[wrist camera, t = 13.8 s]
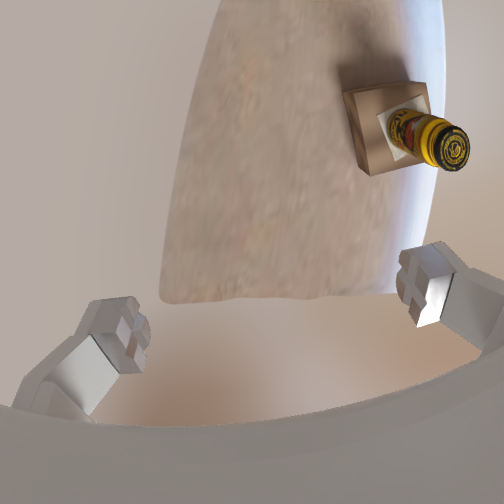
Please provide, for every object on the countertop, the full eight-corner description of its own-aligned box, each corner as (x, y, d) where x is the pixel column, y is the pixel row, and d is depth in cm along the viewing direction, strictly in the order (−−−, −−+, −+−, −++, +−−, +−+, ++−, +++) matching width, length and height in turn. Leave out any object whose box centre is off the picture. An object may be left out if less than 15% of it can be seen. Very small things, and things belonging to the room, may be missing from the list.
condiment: (376, 115, 34) (425, 132, 24) (421, 94, 32) (477, 107, 22) (394, 161, 37) (442, 192, 27) (436, 138, 35) (489, 163, 25)
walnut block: (340, 91, 37) (353, 93, 32) (408, 80, 35) (425, 82, 31) (357, 166, 43) (370, 176, 39) (419, 150, 41) (436, 159, 37)
